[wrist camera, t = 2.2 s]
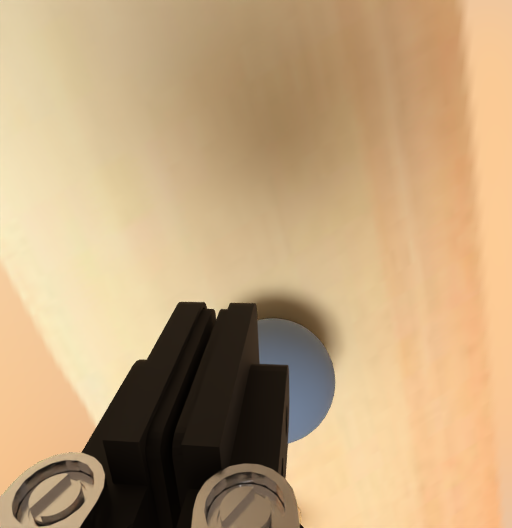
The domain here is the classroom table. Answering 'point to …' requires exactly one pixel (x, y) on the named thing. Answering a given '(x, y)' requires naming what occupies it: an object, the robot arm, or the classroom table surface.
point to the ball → (299, 372)
